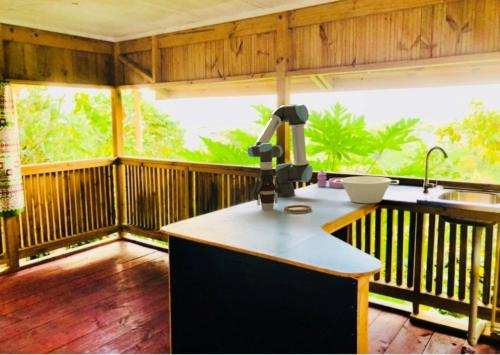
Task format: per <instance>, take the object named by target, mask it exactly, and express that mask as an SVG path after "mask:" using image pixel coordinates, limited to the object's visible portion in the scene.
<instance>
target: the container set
mask: <svg viewBox="0 0 500 355" xmlns="http://www.w3.org/2000/svg"><path fill="white" fill-rule="evenodd" d="M343 178H344V177H332V178H329V179H328V180H329V181H328V183H329V185H328V186H329V188H330V189H345V188H344V186H343V184H342V183H333V181H335V180H336V179H343ZM326 180H327V173H326V172H324V170H320V171H319V172H318V173H317V182H316V183H317V185H316V186H318V187H319V188H325V187H327V184H328V183H327V181H326ZM336 182H341V181H340V180H337V181H336Z"/></svg>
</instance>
